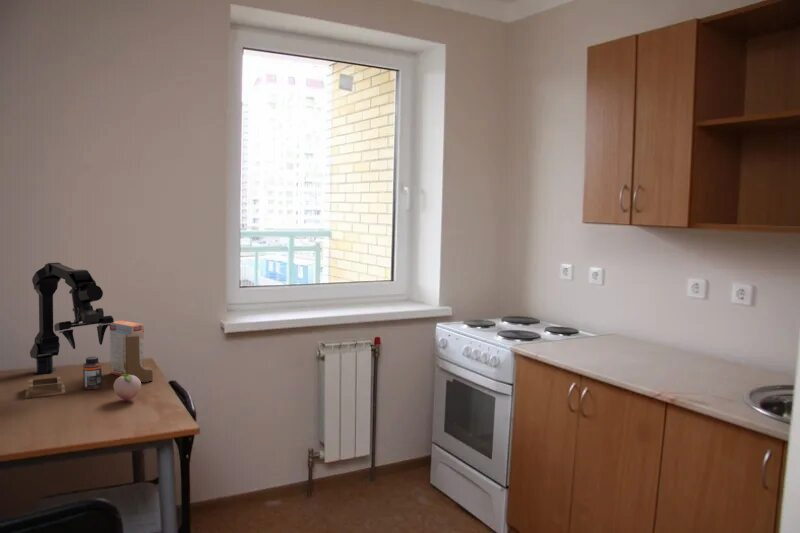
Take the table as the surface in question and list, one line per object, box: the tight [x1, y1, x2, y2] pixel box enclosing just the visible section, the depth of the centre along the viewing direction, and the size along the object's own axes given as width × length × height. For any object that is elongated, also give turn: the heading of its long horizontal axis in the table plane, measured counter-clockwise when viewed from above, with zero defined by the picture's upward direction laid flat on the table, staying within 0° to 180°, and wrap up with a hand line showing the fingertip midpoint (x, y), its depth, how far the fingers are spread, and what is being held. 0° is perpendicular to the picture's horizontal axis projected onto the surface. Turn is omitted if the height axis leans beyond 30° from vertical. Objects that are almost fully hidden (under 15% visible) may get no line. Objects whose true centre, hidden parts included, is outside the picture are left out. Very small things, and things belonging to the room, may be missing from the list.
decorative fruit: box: [113, 372, 142, 402], centre depth 209 cm, size 9×8×10 cm
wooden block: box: [126, 334, 154, 383], centre depth 232 cm, size 9×4×18 cm, turn 118°
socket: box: [25, 376, 66, 399], centre depth 218 cm, size 12×12×4 cm
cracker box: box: [109, 320, 145, 377], centre depth 240 cm, size 14×6×21 cm, turn 58°
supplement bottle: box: [82, 356, 103, 391], centre depth 223 cm, size 6×6×11 cm
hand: (87, 346), depth 222 cm, fingers open, 9 cm apart
